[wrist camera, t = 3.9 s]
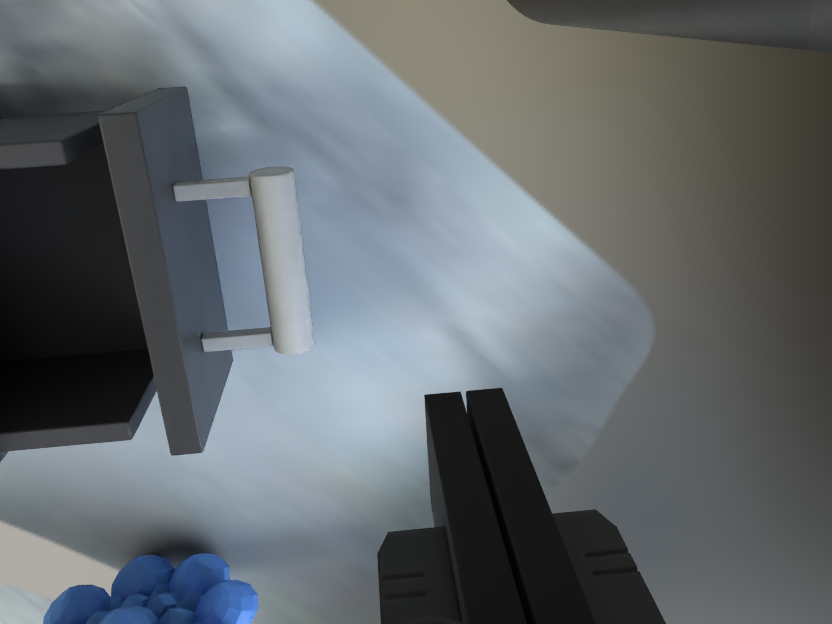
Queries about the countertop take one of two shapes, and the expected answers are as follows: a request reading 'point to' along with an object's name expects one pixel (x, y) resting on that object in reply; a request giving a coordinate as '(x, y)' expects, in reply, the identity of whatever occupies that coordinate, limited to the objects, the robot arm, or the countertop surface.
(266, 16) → the countertop surface
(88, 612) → the grapes
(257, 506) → the countertop surface
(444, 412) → the robot arm
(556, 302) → the countertop surface
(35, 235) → the grey drawer with handle
